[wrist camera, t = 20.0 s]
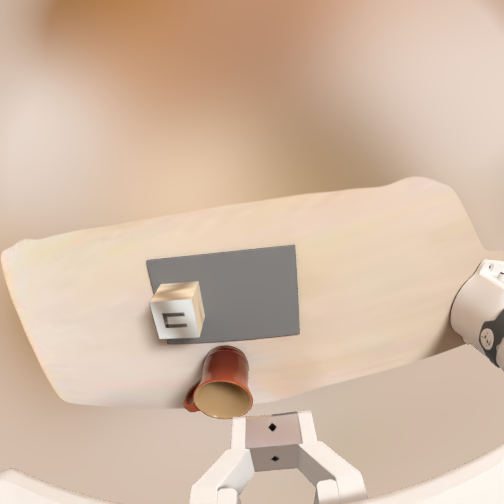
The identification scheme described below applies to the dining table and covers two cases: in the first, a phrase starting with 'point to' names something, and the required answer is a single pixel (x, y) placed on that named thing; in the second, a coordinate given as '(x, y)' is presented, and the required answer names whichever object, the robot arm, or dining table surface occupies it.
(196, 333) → the letter block
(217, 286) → the mat
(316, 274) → the dining table surface
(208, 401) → the mug
